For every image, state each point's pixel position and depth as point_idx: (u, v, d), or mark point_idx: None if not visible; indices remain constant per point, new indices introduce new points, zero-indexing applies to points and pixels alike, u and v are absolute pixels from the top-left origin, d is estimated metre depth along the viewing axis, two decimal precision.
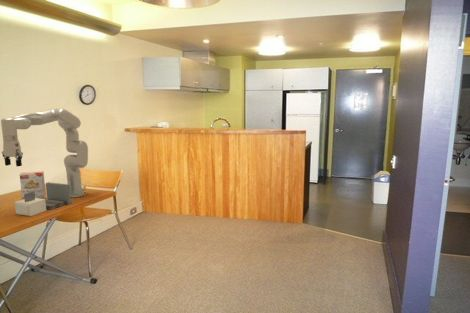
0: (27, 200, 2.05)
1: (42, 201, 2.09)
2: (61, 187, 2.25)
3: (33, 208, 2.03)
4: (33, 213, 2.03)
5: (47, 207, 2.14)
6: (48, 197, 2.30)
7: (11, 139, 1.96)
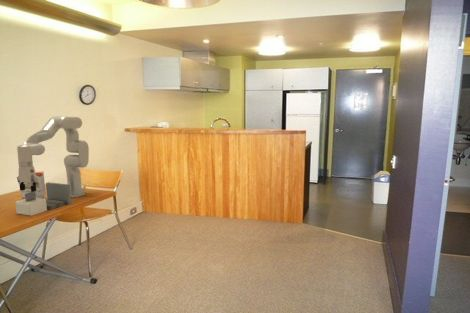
0: (28, 200, 2.06)
1: (43, 201, 2.09)
2: (61, 187, 2.25)
3: (34, 207, 2.04)
4: (34, 213, 2.04)
5: (47, 207, 2.14)
6: (48, 197, 2.30)
7: (27, 165, 2.01)
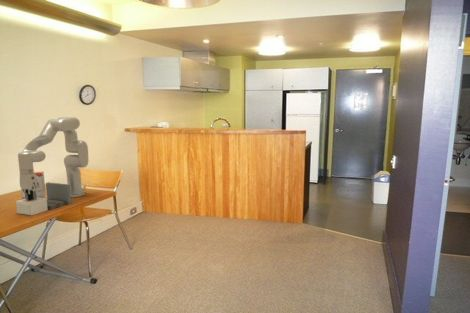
0: None
1: (43, 200, 2.10)
2: (61, 187, 2.25)
3: (35, 207, 2.04)
4: (35, 212, 2.04)
5: (47, 207, 2.14)
6: (48, 197, 2.30)
7: (27, 173, 2.02)
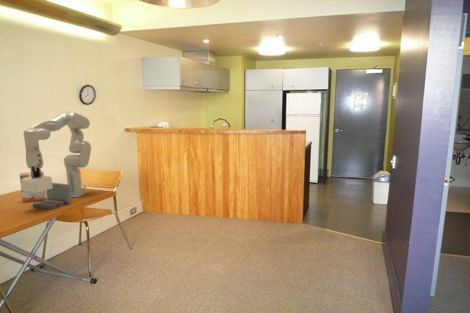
0: (34, 177, 2.09)
1: (48, 178, 2.13)
2: (61, 187, 2.25)
3: (40, 184, 2.07)
4: (40, 189, 2.07)
5: (47, 207, 2.14)
6: (48, 197, 2.30)
7: (33, 150, 2.05)
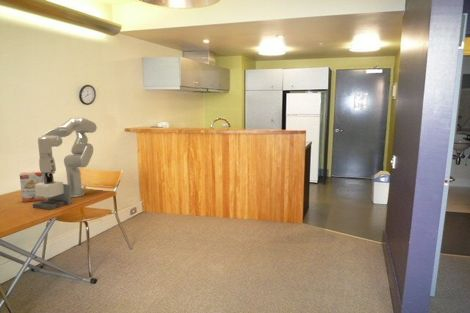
0: (46, 182, 2.18)
1: (60, 184, 2.21)
2: None
3: (53, 189, 2.16)
4: (52, 194, 2.16)
5: (47, 207, 2.14)
6: (48, 197, 2.30)
7: (47, 156, 2.14)
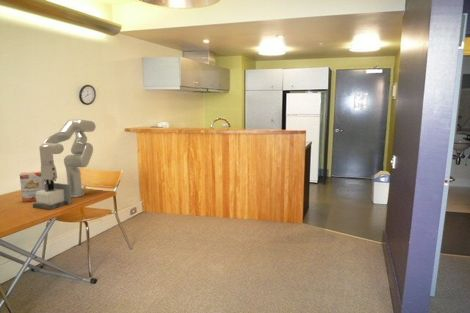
0: (47, 190, 2.19)
1: (61, 191, 2.22)
2: (61, 187, 2.25)
3: (53, 197, 2.17)
4: (53, 202, 2.17)
5: (47, 207, 2.14)
6: None
7: (48, 164, 2.16)
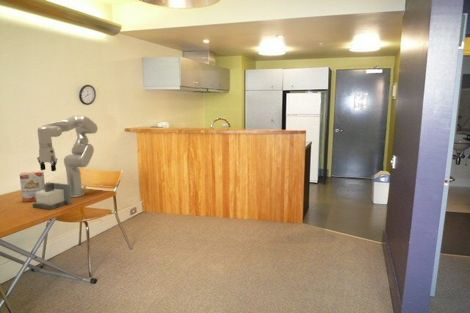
0: (47, 190, 2.18)
1: (61, 191, 2.22)
2: (61, 187, 2.25)
3: (53, 197, 2.17)
4: (53, 202, 2.17)
5: (47, 207, 2.14)
6: None
7: (47, 146, 2.14)
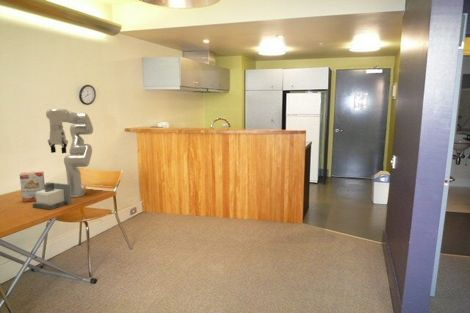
0: (47, 190, 2.18)
1: (61, 191, 2.22)
2: (61, 187, 2.25)
3: (53, 197, 2.17)
4: (53, 202, 2.17)
5: (47, 207, 2.14)
6: None
7: (58, 128, 2.15)
